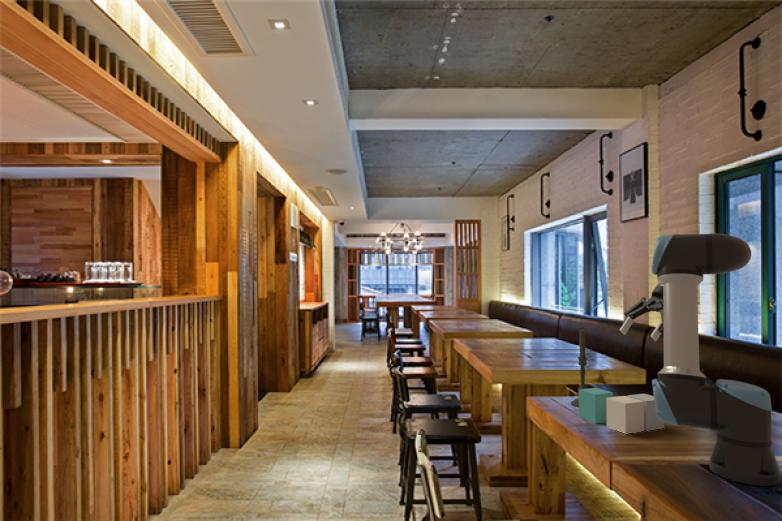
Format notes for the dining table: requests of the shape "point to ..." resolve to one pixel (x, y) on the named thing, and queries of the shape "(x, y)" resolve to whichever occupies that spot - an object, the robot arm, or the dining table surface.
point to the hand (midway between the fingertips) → (637, 335)
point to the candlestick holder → (582, 363)
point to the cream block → (625, 414)
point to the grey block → (649, 412)
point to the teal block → (593, 404)
